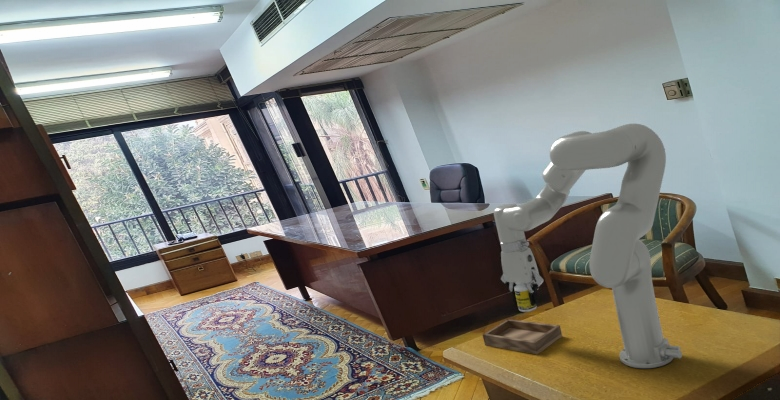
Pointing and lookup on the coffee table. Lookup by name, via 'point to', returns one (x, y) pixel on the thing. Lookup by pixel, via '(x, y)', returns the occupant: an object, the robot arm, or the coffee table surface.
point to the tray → (522, 336)
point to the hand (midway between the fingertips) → (526, 302)
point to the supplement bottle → (523, 297)
